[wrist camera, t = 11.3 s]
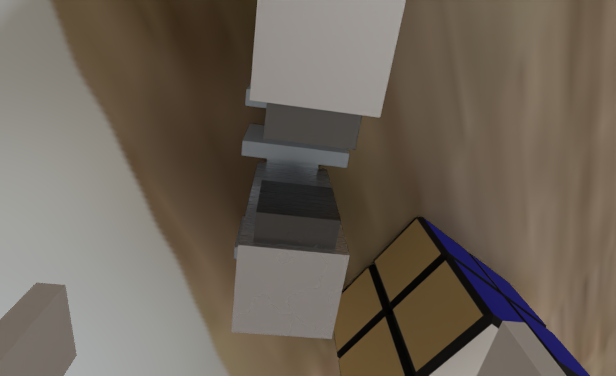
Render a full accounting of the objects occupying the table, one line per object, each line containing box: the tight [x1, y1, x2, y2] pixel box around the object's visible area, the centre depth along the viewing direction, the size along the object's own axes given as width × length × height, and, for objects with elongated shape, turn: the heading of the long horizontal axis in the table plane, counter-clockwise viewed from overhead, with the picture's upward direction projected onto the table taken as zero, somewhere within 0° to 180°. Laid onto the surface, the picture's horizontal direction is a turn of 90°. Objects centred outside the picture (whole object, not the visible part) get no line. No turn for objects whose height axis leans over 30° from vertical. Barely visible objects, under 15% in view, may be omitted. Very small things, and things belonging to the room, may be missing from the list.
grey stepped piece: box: [234, 0, 406, 259], centre depth 17 cm, size 18×6×11 cm, turn 172°
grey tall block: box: [231, 161, 350, 339], centre depth 18 cm, size 5×4×9 cm
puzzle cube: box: [334, 218, 590, 376], centre depth 24 cm, size 10×10×10 cm
